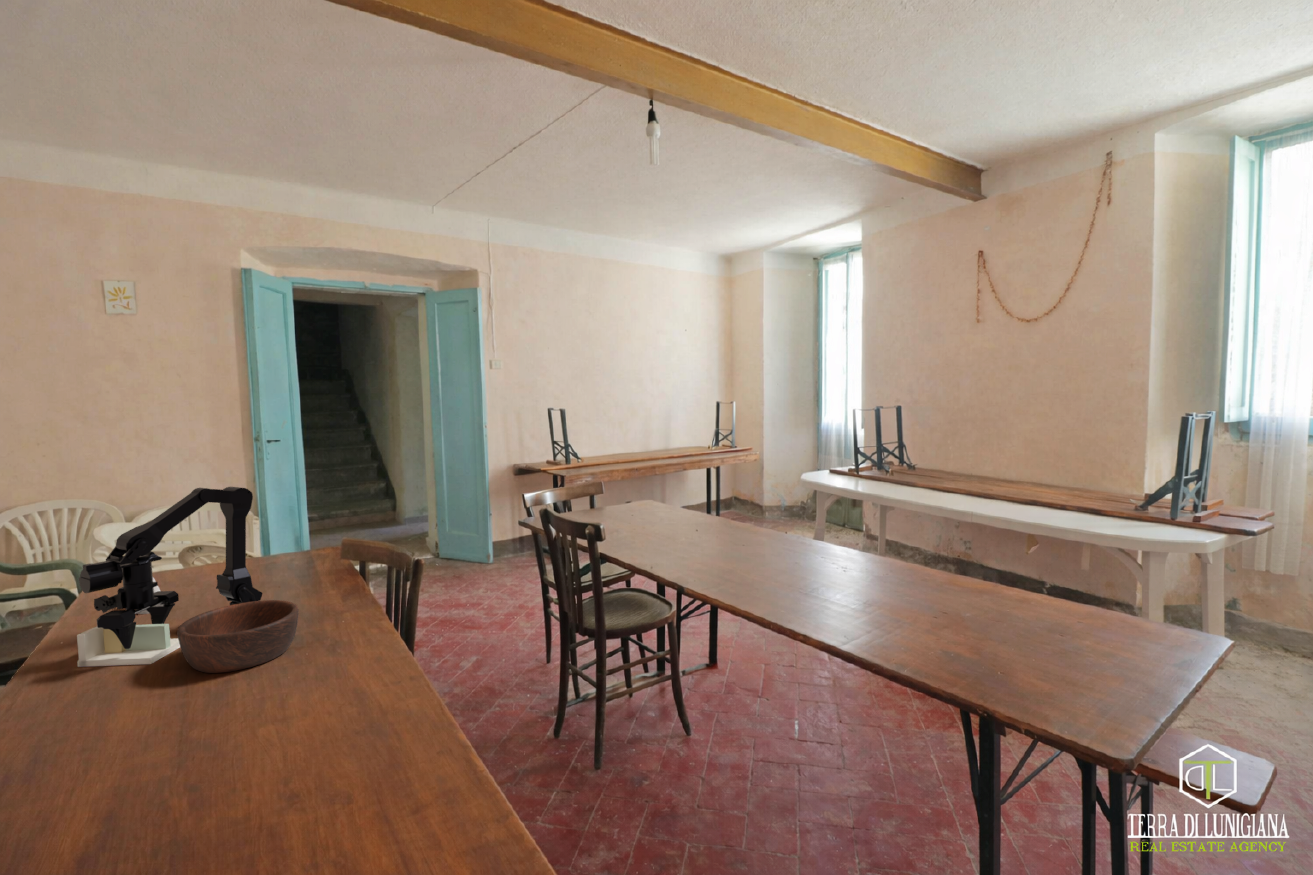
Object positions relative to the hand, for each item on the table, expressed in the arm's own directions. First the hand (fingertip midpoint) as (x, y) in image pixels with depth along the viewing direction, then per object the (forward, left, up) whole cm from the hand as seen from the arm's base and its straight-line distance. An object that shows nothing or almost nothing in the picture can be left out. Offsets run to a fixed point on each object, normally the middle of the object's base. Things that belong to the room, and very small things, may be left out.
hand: (142, 640), depth 150 cm
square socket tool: (+1, 0, -2) cm, 2 cm away
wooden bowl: (-26, +3, -4) cm, 27 cm away
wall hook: (+24, -35, -4) cm, 42 cm away
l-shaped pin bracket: (+2, 0, -4) cm, 4 cm away
